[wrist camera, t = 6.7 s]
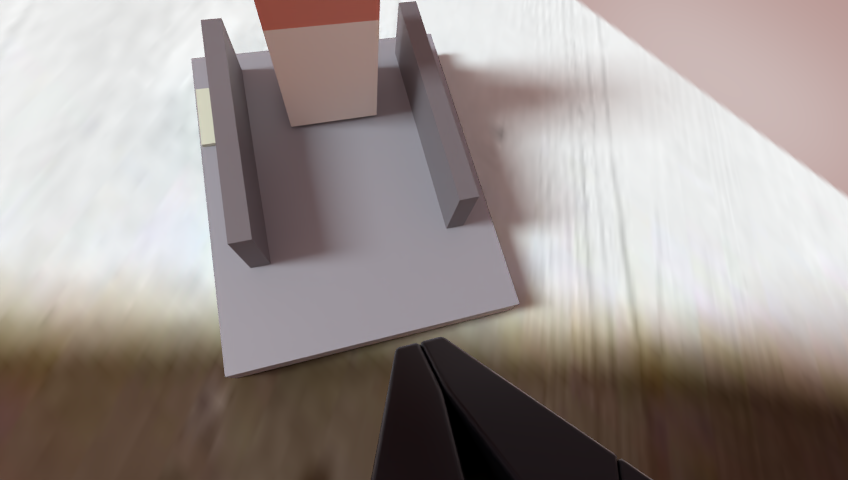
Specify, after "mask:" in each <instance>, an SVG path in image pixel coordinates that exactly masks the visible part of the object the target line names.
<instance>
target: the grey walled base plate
mask: <svg viewBox="0 0 848 480" xmlns="http://www.w3.org/2000/svg"><path fill="white" fill-rule="evenodd" d="M201 25H202V34H203V42H204V51H205V57H202V58H193V59H191V60H192V69H193V79H194V88H195V98H196V107H197V116H198V126H199V135H200V145H201V154H202V164H203V173H204V183H205V192H206V201H207V211H208V220H209V230H210V239H211V249H212V258H213V268H214V277H215V286H216V296H217V305H218V315H219V324H220V334H221V343H222V353H223V362H224V371H225V377H230V378H239V377H243V376H247V375H251V374H255V373H259V372H263V371H267V370H271V369H275V368H279V367H283V366H287V365H291V364H295V363H299V362H303V361H307V360H311V359H315V358H319V357H323V356H327V355H331V354H335V353H339V352H343V351H347V350H351V349H355V348H359V347H363V346H367V345H371V344H375V343H379V342H383V341H387V340H391V339H395V338H399V337H403V336H407V335H411V334H415V333H419V332H423V331H427V330H431V329H435V328H439V327H443V326H447V325H451V324H455V323H459V322H463V321H467V320H471V319H475V318H479V317H483V316H487V315H491V314H495V313H499V312H503V311H507V310H510V309H512V308H513V307H515V306H517V305H519V304H520V303H519V300H518V297H517V294H516V291H515V288H514V285H513V282H512V279H511V276H510V273H509V270H508V267H507V264H506V261H505V258H504V255H503V252H502V249H501V246H500V243H499V240H498V237H497V234H496V231H495V228H494V225H493V222H492V219H491V216H490V212H489V209H488V206H487V203H486V200H485V197H484V194H483V191H482V188H481V185H480V182H479V179H478V176H477V173H476V170H475V167H474V164H473V161H472V158H471V155H470V152H469V149H468V146H467V143H466V140H465V137H464V134H463V131H462V128H461V125H460V122H459V118H458V115H457V112H456V109H455V106H454V103H453V100H452V97H451V94H450V91H449V88H448V85H447V82H446V79H445V76H444V73H443V70H442V67H441V64H440V61H439V58H438V55H437V52H436V49H435V46H434V43H433V40H432V37H431V34H426V31H425V28H424V25H423V22H422V19H421V16H420V12H419V9H418V6H417V3H416V1H415V2H404V3H399V8H398V20H397V33H396V38H386V39H379V46H378V81H377V115H372V116H365V117H358V118H351V119H344V120H337V121H329V122H322V123H315V124H308V125H301V126H294V127H291V124H290V121H289V117H288V114H287V111H286V107H285V104H284V100H283V97H282V94H281V90H280V87H279V83H278V80H277V77H276V73H275V70H274V67H273V63H272V60H271V56H270V53H269V51H260V52H251V53H241V54H235V51H234V49H233V46H232V44H231V41H230V39H229V36H228V34H227V31H226V29H225V26H224V24H223V21H222V19H221V18H219V19H208V20H201Z"/></svg>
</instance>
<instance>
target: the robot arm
mask: <svg viewBox="0 0 848 480" xmlns="http://www.w3.org/2000/svg"><path fill="white" fill-rule="evenodd" d="M371 480H653V479H651V478H649V477H648V476H647V475H645V474H644V473H642V472H641V471H639V470H638V469H636V468H635V467H633V466H632V465H630V464H629V463H627V462H626V461H625V460H623V459H619V460H618V461H617V456H616V455H615V454H614V453H612V452H611V451H609V450H608V449H607V448H605V447H604V446H602V445H601V444H599V443H598V442H596V441H595V440H593V439H592V438H590V437H589V436H588V435H586V434H585V433H583V432H582V431H580V430H579V429H577V428H576V427H574V426H573V425H571V424H570V423H568V422H567V421H566V420H564V419H563V418H561V417H560V416H558V415H557V414H555V413H554V412H552V411H551V410H549V409H548V408H546V407H545V406H544V405H542V404H541V403H539V402H538V401H536V400H535V399H533V398H532V397H530V396H529V395H527V394H526V393H525V392H523V391H522V390H520V389H519V388H517V387H516V386H514V385H513V384H511V383H510V382H508V381H507V380H505V379H504V378H503V377H501V376H500V375H498V374H497V373H495V372H494V371H492V370H491V369H489V368H488V367H486V366H485V365H484V364H482V363H481V362H479V361H478V360H476V359H475V358H473V357H472V356H470V355H469V354H467V353H466V352H464V351H463V350H462V349H460V348H459V347H457V346H456V345H454V344H453V343H451V342H450V341H448V340H447V339H445V338H443V337H438V338H434V339H430V340H426V341H423V342H422V343H421V345H419V344H417V343H414V344H410V345H406V346H403V347H399V348H397V349H396V351H395V356H394V361H393V367H392V372H391V377H390V382H389V388H388V393H387V398H386V403H385V409H384V414H383V419H382V424H381V430H380V435H379V440H378V445H377V451H376V456H375V461H374V466H373V472H372V477H371Z"/></svg>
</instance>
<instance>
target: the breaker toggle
mask: <svg viewBox="0 0 848 480" xmlns="http://www.w3.org/2000/svg"><path fill="white" fill-rule="evenodd" d="M254 2H255V5H256V9H257V12H258V16H259V19H260V22H261V26H262V29H263V33H264V36H265V39H266V43H267V46H268V50H269V53H270V56H271V60H272V63H273V67H274V70H275V73H276V77H277V80H278V83H279V87H280V90H281V94H282V97H283V100H284V104H285V107H286V111H287V114H288V117H289V121H290V124H291V127H294V126H301V125H308V124H315V123H322V122H329V121H337V120H344V119H351V118H358V117H365V116H372V115H377V81H378V46H379V11H380V0H254Z"/></svg>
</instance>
